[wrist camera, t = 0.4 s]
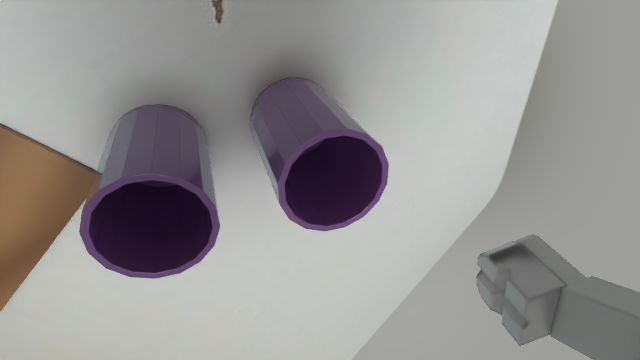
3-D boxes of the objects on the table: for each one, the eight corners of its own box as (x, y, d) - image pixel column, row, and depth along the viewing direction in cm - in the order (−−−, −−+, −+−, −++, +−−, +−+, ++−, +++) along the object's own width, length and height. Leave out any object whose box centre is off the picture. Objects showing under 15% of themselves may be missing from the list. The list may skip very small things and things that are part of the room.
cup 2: (232, 127, 29) (253, 198, 21) (289, 58, 28) (335, 105, 20) (296, 171, 33) (335, 246, 25) (349, 111, 32) (409, 170, 24)
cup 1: (90, 158, 27) (53, 249, 19) (144, 85, 26) (128, 149, 18) (174, 201, 31) (173, 293, 23) (225, 138, 30) (243, 212, 22)
